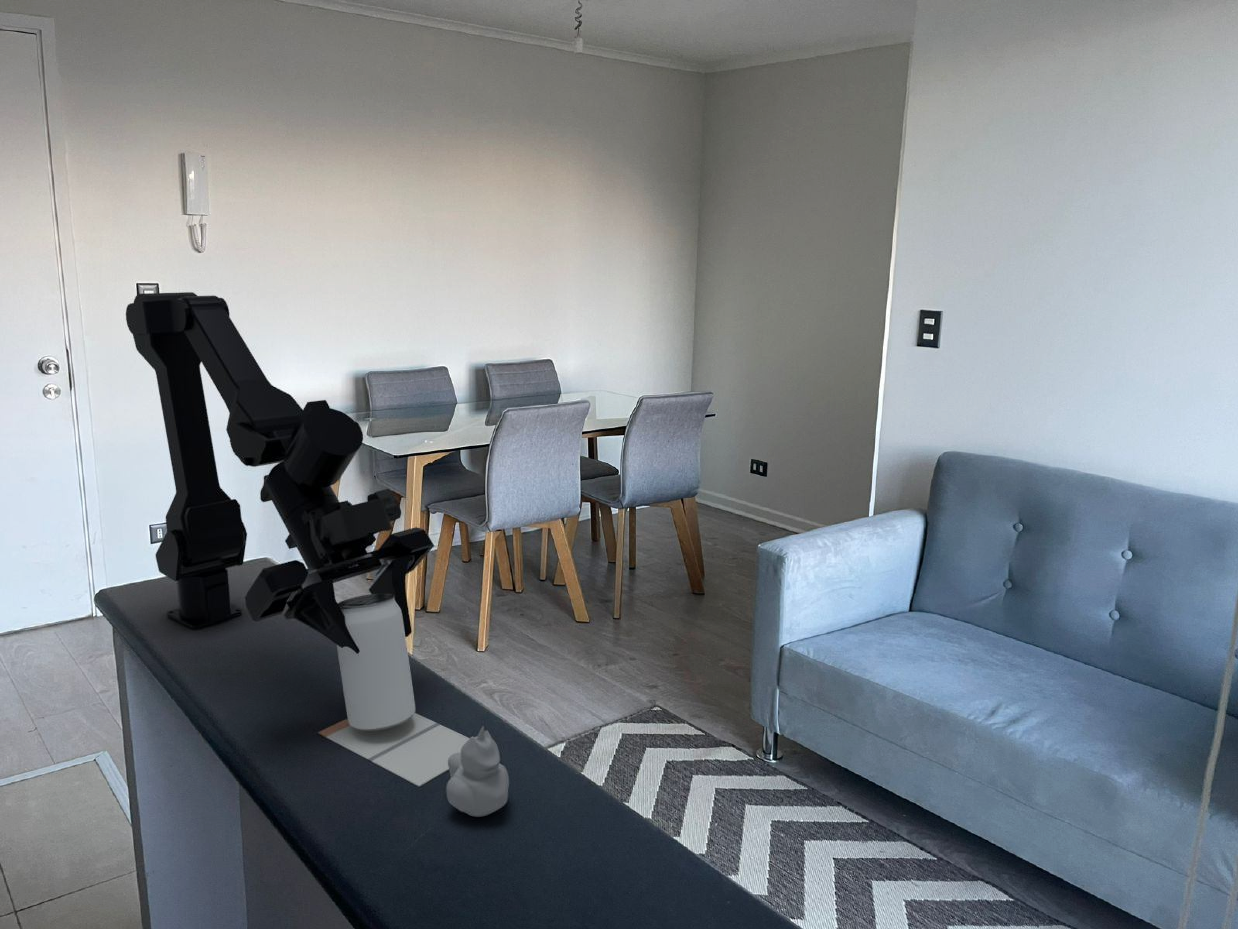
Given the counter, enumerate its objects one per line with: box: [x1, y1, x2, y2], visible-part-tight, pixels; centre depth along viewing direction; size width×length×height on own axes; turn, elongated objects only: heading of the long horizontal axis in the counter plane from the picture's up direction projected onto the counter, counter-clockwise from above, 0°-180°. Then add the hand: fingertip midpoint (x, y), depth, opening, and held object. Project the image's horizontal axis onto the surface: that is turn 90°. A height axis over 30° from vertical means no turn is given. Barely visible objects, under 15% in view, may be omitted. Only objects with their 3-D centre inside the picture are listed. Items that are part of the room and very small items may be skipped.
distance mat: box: [317, 712, 471, 788], centre depth 92 cm, size 14×8×1 cm, turn 54°
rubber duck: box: [445, 726, 510, 818], centre depth 81 cm, size 5×7×8 cm
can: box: [336, 593, 416, 731], centre depth 93 cm, size 6×6×12 cm
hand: (383, 644), depth 92 cm, fingers closed on can, 5 cm apart
